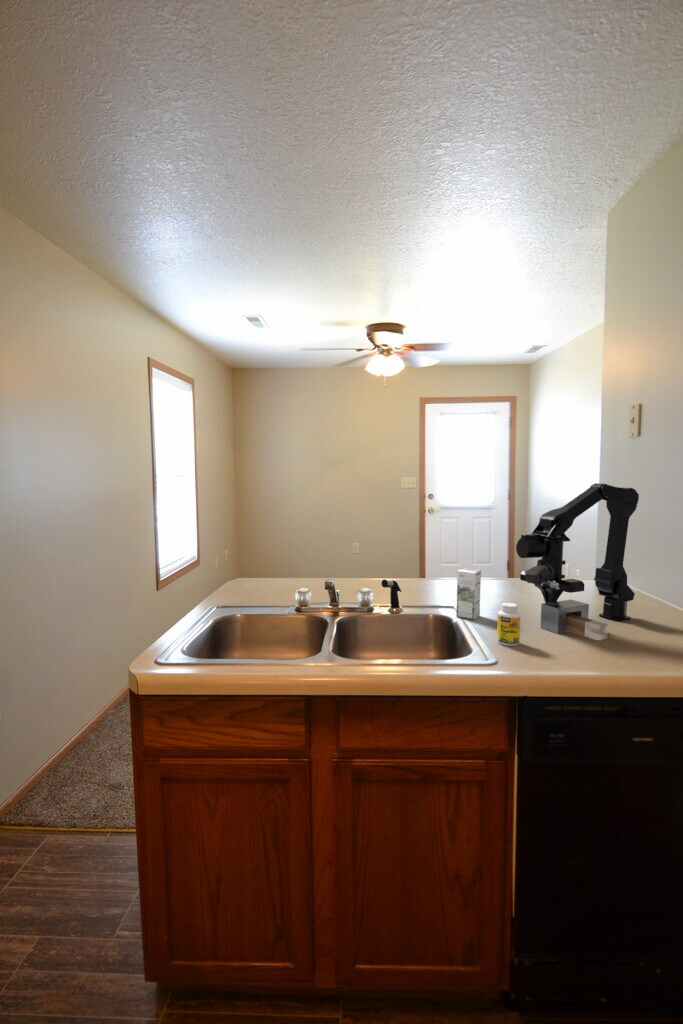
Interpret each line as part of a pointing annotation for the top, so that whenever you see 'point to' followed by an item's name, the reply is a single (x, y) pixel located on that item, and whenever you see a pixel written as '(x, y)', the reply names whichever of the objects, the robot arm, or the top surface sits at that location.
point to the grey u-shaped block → (561, 614)
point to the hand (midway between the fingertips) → (549, 609)
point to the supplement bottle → (508, 625)
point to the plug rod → (586, 627)
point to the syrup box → (468, 593)
